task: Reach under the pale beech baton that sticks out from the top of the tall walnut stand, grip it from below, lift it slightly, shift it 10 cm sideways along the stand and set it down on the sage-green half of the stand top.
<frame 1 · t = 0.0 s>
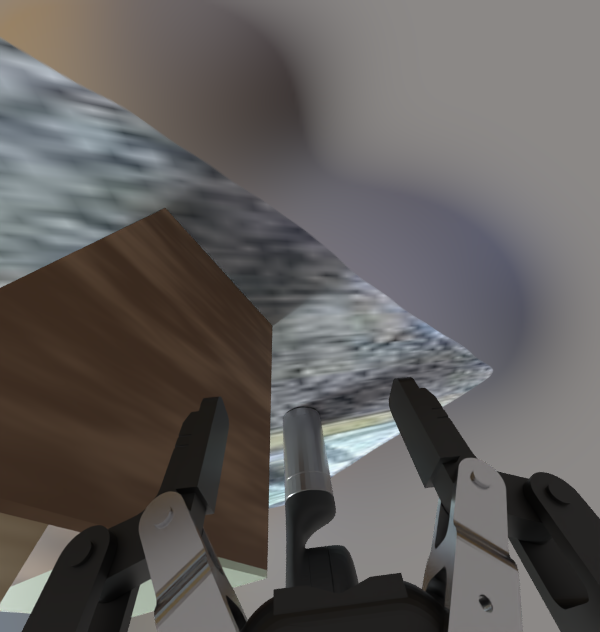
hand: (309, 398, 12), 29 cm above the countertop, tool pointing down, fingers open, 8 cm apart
walnut stand: (189, 301, 41), on the countertop
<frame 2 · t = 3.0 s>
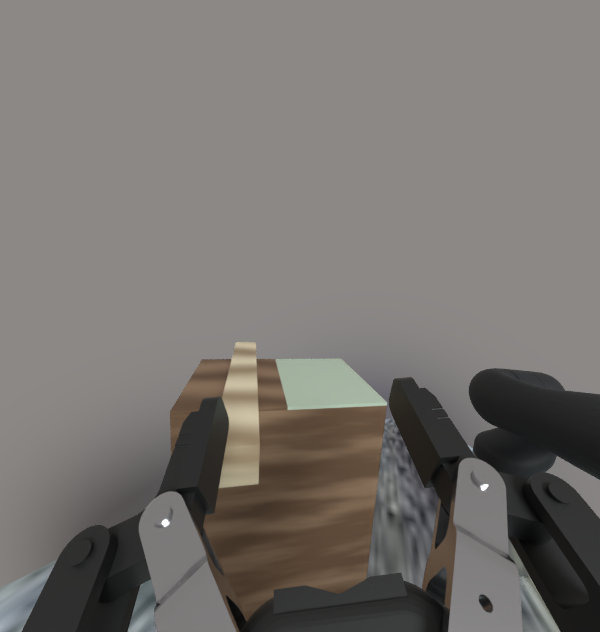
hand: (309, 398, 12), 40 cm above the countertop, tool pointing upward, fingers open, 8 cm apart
beech baton: (242, 395, 29), point 32 cm above the countertop, touching walnut stand
walnut stand: (271, 565, 40), on the countertop
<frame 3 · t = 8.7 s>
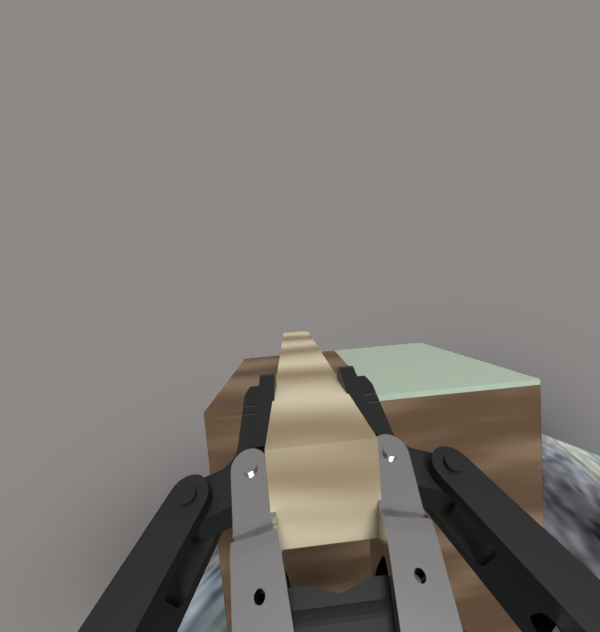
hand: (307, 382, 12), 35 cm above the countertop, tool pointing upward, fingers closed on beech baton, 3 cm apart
beech baton: (303, 387, 20), point 32 cm above the countertop, touching gripper, walnut stand
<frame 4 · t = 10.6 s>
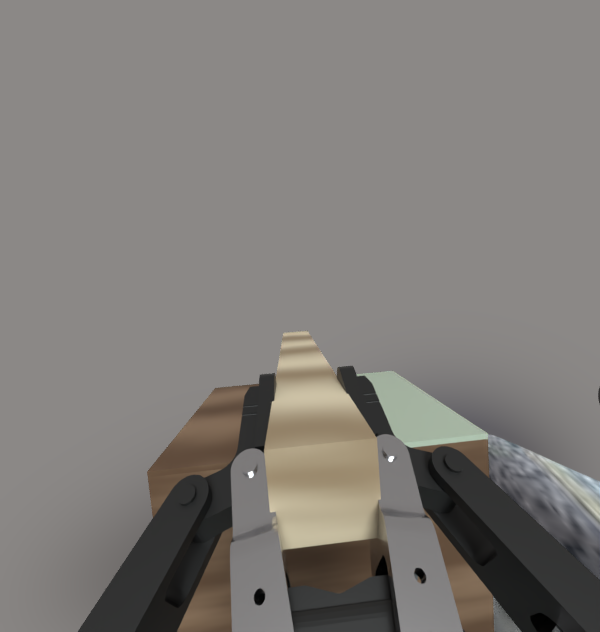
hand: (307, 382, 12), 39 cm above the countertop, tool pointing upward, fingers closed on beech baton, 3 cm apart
beech baton: (302, 387, 20), point 36 cm above the countertop, touching gripper
when the fingers open (36 cm above the countertop, at t = 12.7 s): beech baton drops 1 cm, resting on walnut stand.
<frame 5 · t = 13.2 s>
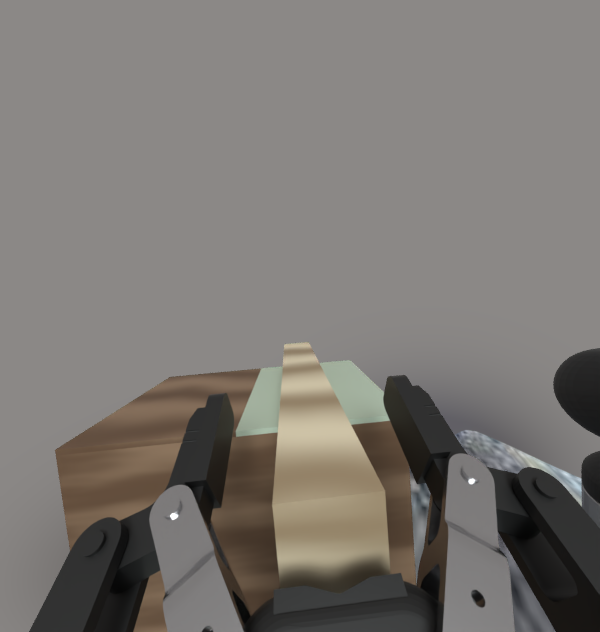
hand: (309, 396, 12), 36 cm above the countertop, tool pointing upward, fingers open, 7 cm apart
beech baton: (305, 406, 20), point 32 cm above the countertop, touching walnut stand
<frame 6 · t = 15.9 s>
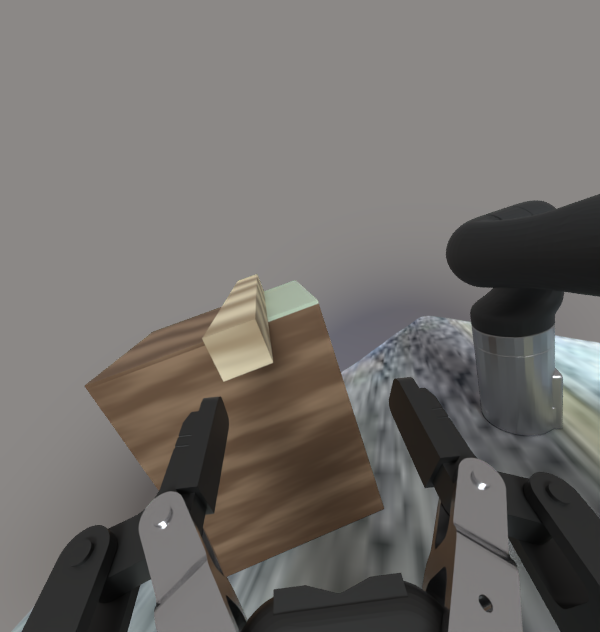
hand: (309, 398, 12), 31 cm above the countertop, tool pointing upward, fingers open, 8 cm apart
beech baton: (252, 316, 27), point 32 cm above the countertop, touching walnut stand
walnut stand: (296, 489, 42), on the countertop
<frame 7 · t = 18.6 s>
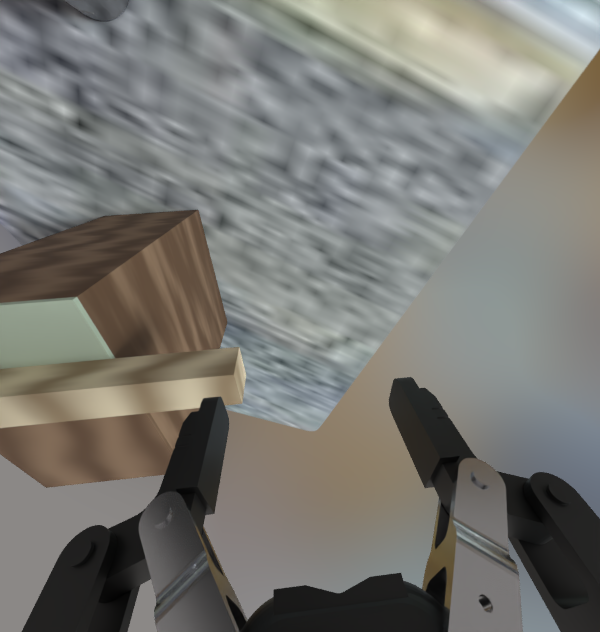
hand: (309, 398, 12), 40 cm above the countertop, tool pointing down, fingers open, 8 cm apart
beech baton: (83, 376, 20), point 32 cm above the countertop, touching walnut stand
walnut stand: (174, 276, 49), on the countertop
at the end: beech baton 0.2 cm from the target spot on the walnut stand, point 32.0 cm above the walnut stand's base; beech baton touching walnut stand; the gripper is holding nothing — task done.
